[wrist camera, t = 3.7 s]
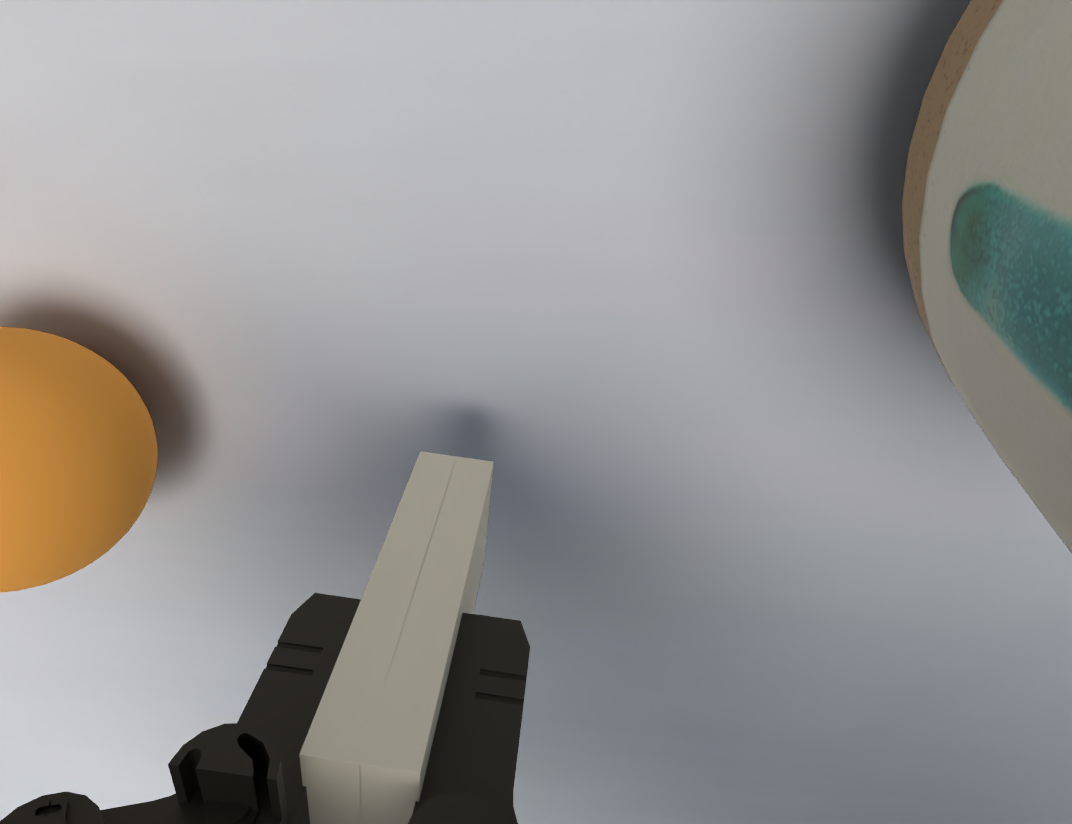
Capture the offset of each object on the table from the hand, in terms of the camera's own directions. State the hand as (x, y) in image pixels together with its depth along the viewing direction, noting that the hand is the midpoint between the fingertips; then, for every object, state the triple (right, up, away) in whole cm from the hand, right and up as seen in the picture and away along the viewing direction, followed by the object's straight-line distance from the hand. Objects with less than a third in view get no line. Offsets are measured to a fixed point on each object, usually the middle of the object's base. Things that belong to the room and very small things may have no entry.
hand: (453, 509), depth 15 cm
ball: (-9, +1, 0) cm, 9 cm away
